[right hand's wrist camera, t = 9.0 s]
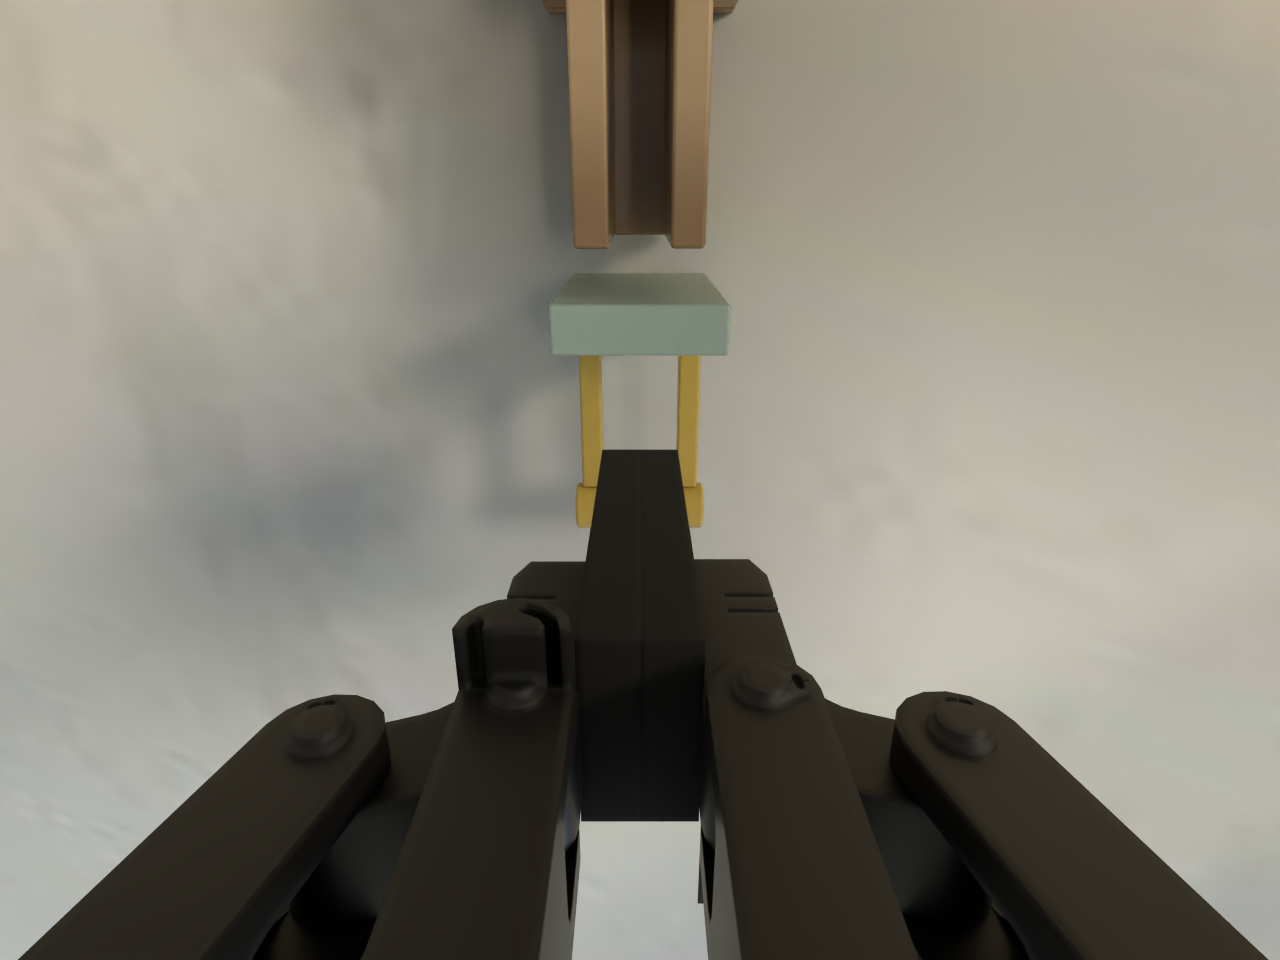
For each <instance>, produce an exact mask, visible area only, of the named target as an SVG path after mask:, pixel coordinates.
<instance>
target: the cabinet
mask: <svg viewBox="0 0 1280 960" xmlns="http://www.w3.org/2000/svg"><path fill="white" fill-rule="evenodd" d="M542 2H543V4H544V6H545V8H546V10H547V12H548V13H566V0H542ZM737 2H738V0H713V13H732V12H733V10H734V8H735V6H736V4H737Z"/></svg>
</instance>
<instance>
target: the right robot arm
mask: <svg viewBox="0 0 1280 960" xmlns="http://www.w3.org/2000/svg"><path fill="white" fill-rule="evenodd" d="M452 633H453V642H454V651H455V660H456V669H457V678H458V687H459V691H458V694H457V697H456V699H455V702H453V703H451V704H449V705H447V706H445V707H443V708H441V709H438V710H435V711H432V712H429V713H425V714H422V715H418V716H413V717H409V718H404V719H400V720H395V721H391V722H386V723H385V717H384V712H383V711H382V710H381V709H380V708H379V707H378V705H377V704H376V703H375V702H374V701H371V700H369V699H366V698H363V697H360V696H358V695H330V696H325V697H320V698H316V699H311V700H308V701H306V702H304V703H301V704H299V705H297V706H294V707H292V708H290V709H287V710H286V711H284V712H283V713H281V714H280V715H279V716H277V717H276V718H275V719H273V720H272V721H270V722H269V723H268V724H266V725H265V726H264V727H263V728H262V729H261V730H260V731H259V732H258V733H257V734H256V735H255V736H254V737H253V738H252V739H251V740H249V741H248V742H247V743H246V744H245V745H244V746H243V747H242V748H241V749H240V750H239V751H238V752H237V753H236V754H235V755H234V756H233V757H232V758H230V759H229V760H228V761H227V762H226V763H225V764H224V765H223V766H222V767H221V768H220V769H219V770H218V771H217V772H216V773H215V774H214V775H212V776H211V777H210V778H209V779H208V780H207V781H206V782H205V783H204V784H203V785H202V786H201V787H200V788H199V789H198V790H197V791H196V792H195V793H193V794H192V795H191V796H190V797H189V798H188V799H187V800H186V801H185V802H184V803H183V804H182V805H181V806H180V807H179V808H178V809H177V810H176V811H174V812H173V813H172V814H171V815H170V816H169V817H168V818H167V819H166V820H165V821H164V822H163V823H162V824H161V825H160V826H159V827H158V828H157V829H155V830H154V831H153V832H152V833H151V834H150V835H149V836H148V837H147V838H146V839H145V840H144V841H143V842H142V843H141V844H140V845H139V846H138V847H136V848H135V849H134V850H133V851H132V852H131V853H130V854H129V855H128V856H127V857H126V858H125V859H124V860H123V861H122V862H121V863H120V864H118V865H117V866H116V867H115V868H114V869H113V870H112V871H111V872H110V873H109V874H108V875H107V876H106V877H105V878H104V879H103V880H102V881H101V882H99V883H98V884H97V885H96V886H95V887H94V888H93V889H92V890H91V891H90V892H89V893H88V894H87V895H86V896H85V897H84V898H83V899H82V900H80V901H79V902H78V903H77V904H76V905H75V906H74V907H73V908H72V909H71V910H70V911H69V912H68V913H67V914H66V915H65V916H64V917H63V918H61V919H60V920H59V921H58V922H57V923H56V924H55V925H54V926H53V927H52V928H51V929H50V930H49V931H48V932H47V933H46V934H45V935H44V936H42V937H41V938H40V939H39V940H38V941H37V942H36V943H35V944H34V945H33V946H32V947H31V948H30V949H29V950H28V951H27V952H26V953H24V954H23V955H22V956H21V957H20V958H19V959H18V960H572V950H573V938H574V926H575V915H576V903H577V892H578V880H579V868H580V837H579V823H580V812H581V821H699V809H700V819H701V837H700V861H699V886H698V903H704V914H705V925H706V937H707V948H708V960H1268V959H1267V958H1266V957H1265V956H1264V955H1263V954H1262V953H1261V952H1259V951H1258V950H1257V949H1256V948H1255V947H1254V946H1253V945H1252V944H1251V943H1250V942H1249V941H1248V940H1247V939H1246V938H1245V937H1244V936H1242V935H1241V934H1240V933H1239V932H1238V931H1237V930H1236V929H1235V928H1234V927H1233V926H1232V925H1231V924H1230V923H1229V922H1228V921H1226V920H1225V919H1224V918H1223V917H1222V916H1221V915H1220V914H1219V913H1218V912H1217V911H1216V910H1215V909H1214V908H1213V907H1212V906H1211V905H1209V904H1208V903H1207V902H1206V901H1205V900H1204V899H1203V898H1202V897H1201V896H1200V895H1199V894H1198V893H1197V892H1196V891H1195V890H1194V889H1192V888H1191V887H1190V886H1189V885H1188V884H1187V883H1186V882H1185V881H1184V880H1183V879H1182V878H1181V877H1180V876H1179V875H1178V874H1176V873H1175V872H1174V871H1173V870H1172V869H1171V868H1170V867H1169V866H1168V865H1167V864H1166V863H1165V862H1164V861H1163V860H1162V859H1161V858H1159V857H1158V856H1157V855H1156V854H1155V853H1154V852H1153V851H1152V850H1151V849H1150V848H1149V847H1148V846H1147V845H1146V844H1145V843H1143V842H1142V841H1141V840H1140V839H1139V838H1138V837H1137V836H1136V835H1135V834H1134V833H1133V832H1132V831H1131V830H1130V829H1129V828H1128V827H1126V826H1125V825H1124V824H1123V823H1122V822H1121V821H1120V820H1119V819H1118V818H1117V817H1116V816H1115V815H1114V814H1113V813H1112V812H1110V811H1109V810H1108V809H1107V808H1106V807H1105V806H1104V805H1103V804H1102V803H1101V802H1100V801H1099V800H1098V799H1097V798H1096V797H1095V796H1093V795H1092V794H1091V793H1090V792H1089V791H1088V790H1087V789H1086V788H1085V787H1084V786H1083V785H1082V784H1081V783H1080V782H1079V781H1078V780H1076V779H1075V778H1074V777H1073V776H1072V775H1071V774H1070V773H1069V772H1068V771H1067V770H1066V769H1065V768H1064V767H1063V766H1062V765H1060V764H1059V763H1058V762H1057V761H1056V760H1055V759H1054V758H1053V757H1052V756H1051V755H1050V754H1049V753H1048V752H1047V751H1046V750H1045V749H1043V748H1042V747H1041V746H1040V745H1039V744H1038V743H1037V742H1036V741H1035V740H1034V739H1033V738H1032V737H1031V736H1030V735H1029V734H1027V733H1026V732H1025V731H1024V730H1023V729H1022V728H1021V727H1020V726H1019V725H1018V724H1017V723H1016V722H1015V721H1014V720H1012V719H1011V718H1009V717H1008V716H1007V715H1005V714H1004V713H1002V712H1001V711H1000V710H998V709H997V708H995V707H994V706H992V705H989V704H987V703H985V702H982V701H980V700H978V699H975V698H973V697H971V696H966V695H961V694H956V693H951V692H946V691H944V692H923V693H920V694H917V695H914V696H911V697H909V698H906V699H905V701H904V702H903V703H902V704H901V705H900V706H899V707H898V708H897V711H896V717H895V720H894V719H890V718H885V717H880V716H876V715H871V714H867V713H862V712H858V711H855V710H852V709H848V708H845V707H842V706H840V705H837V704H835V703H833V702H831V701H829V700H827V699H825V698H824V695H823V693H822V690H821V688H820V687H819V685H818V684H817V682H816V681H815V679H814V678H813V676H812V675H811V674H809V673H808V672H806V671H805V670H803V669H802V668H801V667H799V666H798V665H797V664H796V661H795V658H794V655H793V652H792V649H791V646H790V643H789V640H788V637H787V634H786V631H785V628H784V625H783V622H782V619H781V616H780V613H778V607H777V604H776V601H775V598H774V597H773V592H772V589H771V586H770V583H769V580H768V577H767V575H766V574H765V573H764V572H763V571H762V570H760V569H759V568H758V567H757V566H756V565H755V564H754V563H752V562H751V561H750V560H749V559H694V557H693V550H692V543H691V536H690V529H689V523H688V516H687V509H686V502H685V495H684V489H683V482H682V475H681V468H680V461H679V455H678V450H602V455H601V461H600V468H599V475H598V482H597V489H596V495H595V502H594V509H593V516H592V523H591V529H590V536H589V543H588V550H587V557H586V562H530V563H529V564H528V565H527V566H526V567H525V568H523V569H522V570H521V571H520V572H519V573H518V574H517V575H516V576H514V577H513V580H512V583H511V586H510V589H509V592H508V595H507V599H504V600H497V601H494V602H491V603H488V604H484V605H481V606H478V607H476V608H475V609H473V610H471V611H470V612H468V613H467V614H465V615H463V616H462V617H461V618H460V619H459V621H458V622H457V623H456V624H455V626H454V627H453V628H452Z"/></svg>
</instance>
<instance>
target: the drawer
mask: <svg viewBox="0 0 1280 960" xmlns="http://www.w3.org/2000/svg"><path fill="white" fill-rule="evenodd" d="M566 18H567V49H568V81H569V112H570V144H571V175H572V206H573V238H574V247H575V248H579V249H606V248H608V247H609V245H610V243H611V242H612V240H613V238H614V236H615V235H665V236H666V238H667V240H668V242H669V243H670V245H671V247H673V248H703V247H704V246H705V244H706V214H707V184H708V153H709V122H710V91H711V60H712V29H713V0H566ZM548 308H549V330H550V352H551V354H552V355H579V373H580V405H581V438H582V470H583V482H580V483H578V485H577V491H576V520H577V525H578V527H591V523H592V516H593V509H594V502H595V495H596V489H597V482H598V475H599V468H600V461H601V455H602V450H603V419H602V368H601V355H678V389H677V438H676V450H678V455H679V461H680V468H681V475H682V482H683V489H684V495H685V502H686V509H687V516H688V523H689V528H699V527H701V526H702V523H703V488H702V484H701V483H696V481H697V449H698V418H699V386H700V355H728V353H729V336H730V315H731V307H730V304H729V303H728V302H727V301H726V299H725V298H724V297H723V296H722V294H721V293H720V292H719V291H718V289H717V288H716V287H715V286H714V284H713V283H712V282H711V280H710V279H709V278H708V277H707V275H706V274H704V273H576V274H574V275H573V276H572V277H571V279H570V280H569V281H568V282H567V284H566V285H565V286H564V287H563V289H562V290H561V291H560V292H559V294H558V295H557V296H556V297H555V299H554V300H553V301H552V302H551V304H550V305H549V307H548Z"/></svg>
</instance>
